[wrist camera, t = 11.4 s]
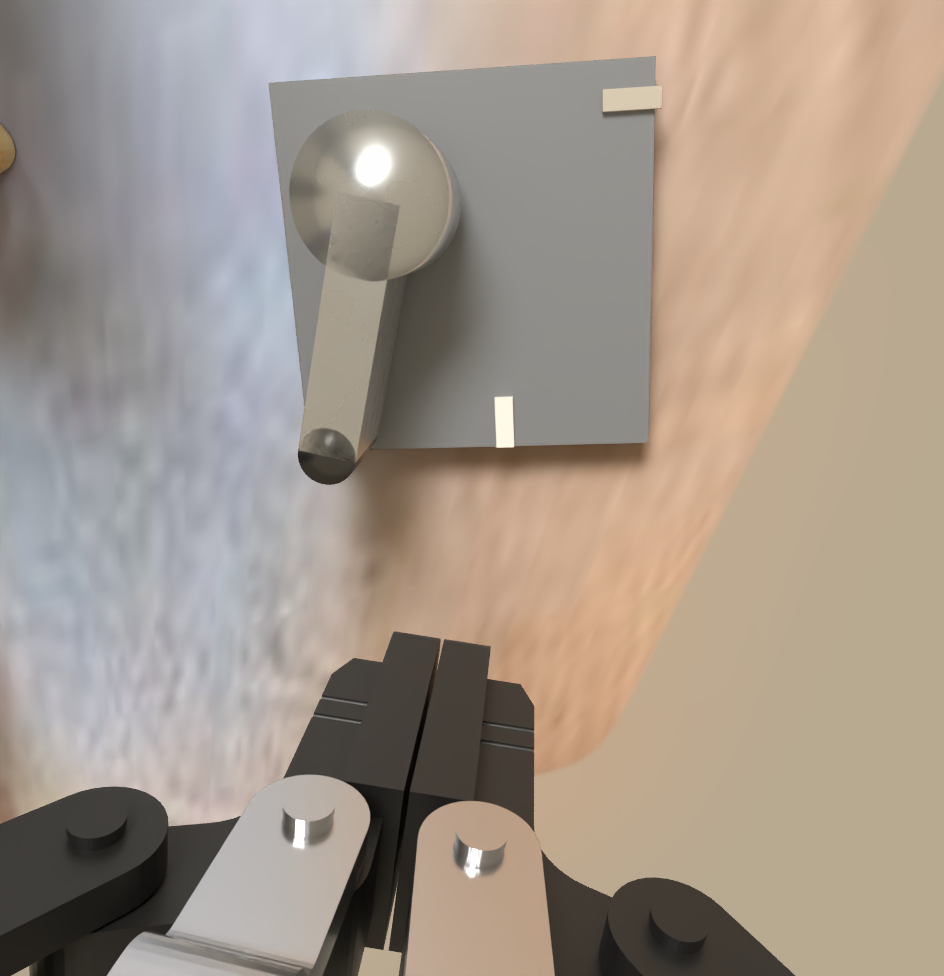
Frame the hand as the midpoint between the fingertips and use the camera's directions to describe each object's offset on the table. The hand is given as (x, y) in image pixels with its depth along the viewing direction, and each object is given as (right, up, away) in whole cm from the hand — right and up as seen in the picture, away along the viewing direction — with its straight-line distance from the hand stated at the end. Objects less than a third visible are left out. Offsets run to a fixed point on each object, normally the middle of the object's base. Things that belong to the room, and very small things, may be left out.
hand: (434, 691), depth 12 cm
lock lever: (-3, +10, +17) cm, 20 cm away
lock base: (+1, +12, +19) cm, 22 cm away
